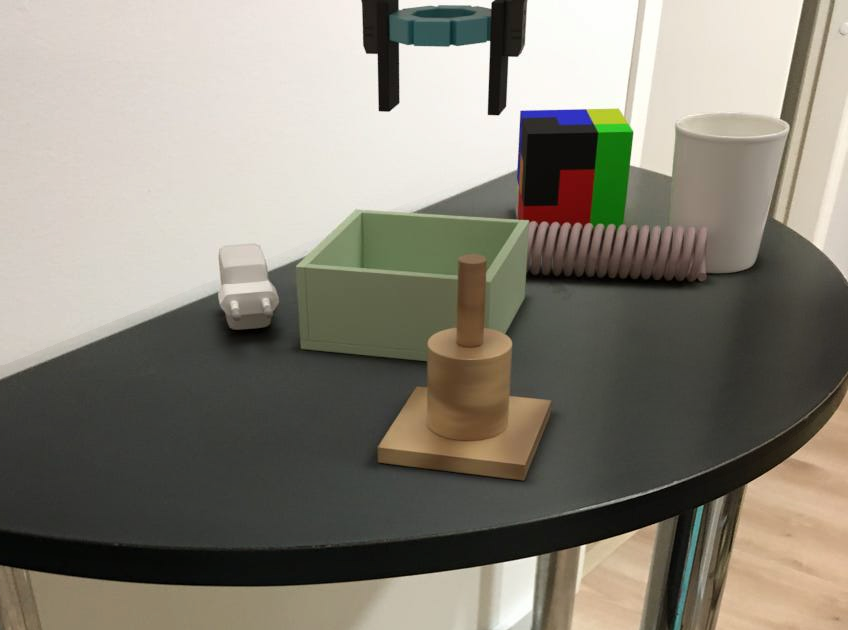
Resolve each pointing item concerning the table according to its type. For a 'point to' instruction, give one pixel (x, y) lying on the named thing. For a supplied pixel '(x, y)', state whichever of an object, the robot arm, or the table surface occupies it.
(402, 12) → the ring
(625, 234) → the coil
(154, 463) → the table surface
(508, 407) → the stand
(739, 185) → the white cup
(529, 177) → the puzzle toy
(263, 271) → the power adapter
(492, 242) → the bin
